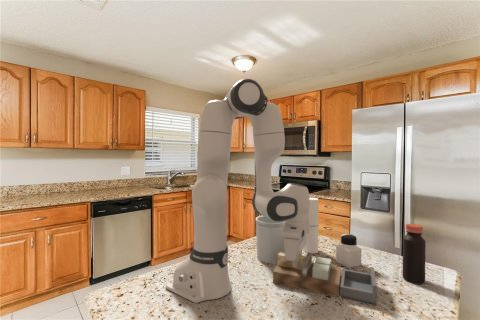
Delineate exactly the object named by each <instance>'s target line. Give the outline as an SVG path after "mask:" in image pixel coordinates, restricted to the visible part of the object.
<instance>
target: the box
mask: <svg viewBox="0 0 480 320" xmlns="http://www.w3.org/2000/svg"><path fill="white" fill-rule="evenodd" d="M369 269H370V273H367V272H362V271H356V270H349V269H344V268H341V284H340V293H339V298H340V299H344V300H350V301H354V302H359V303H362V304H366V305H371V306H377V294H378V293H377V280H376V275H375V267H373V266H371V267H370V268H369Z"/></svg>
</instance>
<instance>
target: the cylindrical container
mask: <svg viewBox="0 0 480 320" xmlns="http://www.w3.org/2000/svg"><path fill="white" fill-rule="evenodd" d="M309 202H310V208H309V212H308V215H309V234H306V238H307V241H306V245H305V247H304V249H303V250H302V252H304V253H306V254H307V253H308V252H310V253H312V254H318V253H319V198H317V197H310V196H309Z"/></svg>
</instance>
